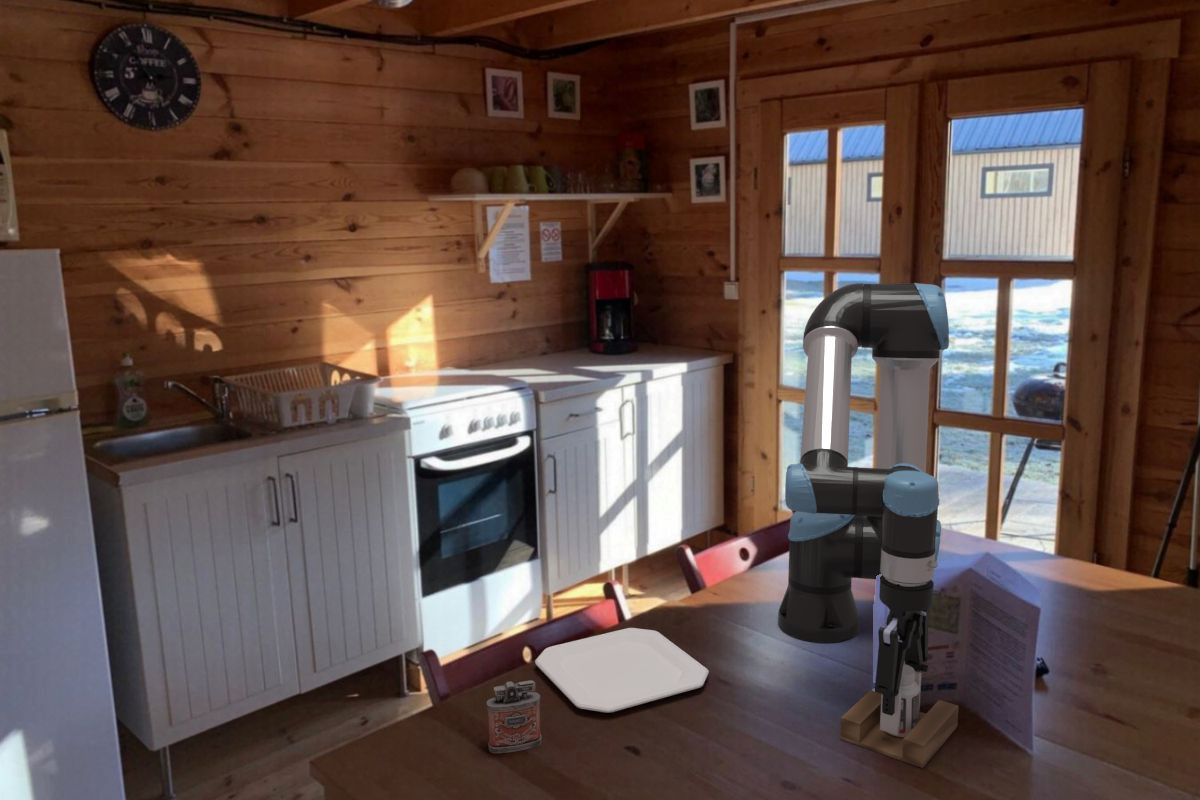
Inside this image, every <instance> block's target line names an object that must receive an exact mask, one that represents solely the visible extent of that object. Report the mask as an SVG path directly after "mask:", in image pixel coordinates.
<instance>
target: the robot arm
mask: <svg viewBox="0 0 1200 800" xmlns="http://www.w3.org/2000/svg"><path fill="white" fill-rule="evenodd" d="M945 297H946V296H945V292H944V291H943V289H942V288H941V287H940V286H938V285H936V284H930V283H918V282H914V283H863V282H862V283H861V282H860V283H851V284H847V285H844V286H842V287H839V288H838V289H836V290H834V291H832V292H831V293H830V294H828V295H827V296H825V298H823V299H822V300H821V301H820V302H819V303H818V305H816V307H815V308H814V310H813V311H812V313H811V314H810V316H809V318H808V320H807V322H806V325H805V328H804V331H803V338H802V349H803V352H804V354H805V355H806V357H807V363H806V364H807V366H806V375H805V377H806V378H805V391H804V405H803V419H802V434H801V444H800V445H801V446H800V460H799V463H793V464H792V463H791V464H789V465H788V466H787V468H786V472H785V492H784V497H785V498H784V499H785V506H786V507H787V509H789V510H790V511H793V514H792V515H791V516H790V520H789V521H790V523H789V532H788V535H787V539H788V540H789V543H788V544H789V547H788V549H789V550H788V551H789V553H788V577H787V578H788V580H787V587H786V590H785V593H784V594H783V598H782V601H781V604H780V606H779V609H778V614H777V624H778V627H779V628H780V629H781V631H783V632H784V633H786V634H787V635H789V636H791V637H794V638H796V639H799V640H803V641H807V642H814V643H836V642H837V643H838V642H839V643H840V642H843V641H847V640H851V639H852V638H854V637H855V636H856V635H857V634H859V632H860V624H861V623H860V622H861V621H860V613H859V610H858V607H857V603H856V601H855V598H854V597H855V596H854V594H853V591H852V583H853V582H852V580H853V579H867V580H876V576H877V575H879V574H882V576H881V577H880V580H879V593H878V594H879V600H880V602H881V603H882V604H883V605H885V606H886V607H887V608H888V609H889V612H888V615H887V618H886V628H885V627H882V626H880V627H879V629H878V651H877V662H876V673H875V683H874V686H875V692H878V693H881V716H880V730H883V731H886V732H889V733H892V734H894V735H897V736H898V734H899V733H900V713H901V693H900V692H899V687H900V681H901V676H902V670H903V665H904V664H906V665H909V666H911V667H912V668H913V669H914V670H915V680H914V681H915V682H916V683H917V684H918V686H919V711H920V710H921V709H920V708H921V707H920V706H921V689H922V672H924V673H928V670H929V665H926V664H925V663H927V662H928V661H929V617H930V616H929V615H930V608H931V607H932V605H933V603H934V587H935V586H934V585H935V584H934V581H933V579H934V577H935V570H934V568H935V569H937V568H938V565H939V563H938V561H937V560H938V557H939V550H940V546H941V545H940V544H941V535H942V534H941V532H942V523H941V521H940V520H938V509H939V506H940V498H939V497H940V495H939V481H938V479H937V478H936V477H934V476H933V475H930V474H929V473H927V472H926V471H927V452H928V451H927V448H928V429H929V427H928V426H929V425H928V424H929V402H930V401H929V400H930V379H931V378H930V377H931V369H932V367H933V366H934V365H936V363H937V362H938V361H940V352H941V351H945V350H947V349H949V346H950V337H949V335H950V328H949V326H950V325H949V316H948V308H947V302H946V298H945ZM859 348H861V349H863V348H864V349H871V350H872V351H871V353H872V354H871V359H872V360H873V361H874V362H875V363H876V364H877V366H878V367H879V369H880V370H879V371H880V372H879V393H878V394H879V396H878V421H877V422H878V423H877V449H876V452H877V453H876V467H860V466H859V467H858V466H849V443H850V442H849V441H850V419H851V418H850V417H851V415H850V414H851V413H850V411H851V389H852V387H851V386H852V384H851V383H852V359H853V358H854V357H855V356H856V355H857V352H858V349H859Z"/></svg>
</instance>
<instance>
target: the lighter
mask: <svg viewBox="0 0 1200 800" xmlns="http://www.w3.org/2000/svg"><path fill="white" fill-rule="evenodd" d="M493 693H494V697H491V698H490V699H488V700H487V701H486V709H487V718H488V737H489V741H488V742H487V744H488V751H489V752H490V753H492V754H503V753H505V754H506V753H513V752H519V751H524V750H529V749H531V748H535V747H538V746H540V745H541V744H542V742H543V741H542V739H543V738H542V734H541V719H540V717H541V716H540V714H541V713H540V703H541V695H540V694H539V693H538V692H536V682H535V681H534V679H533V680H525V681H519V682H517V683H514V682H513V681H507V682H505V684H504V685H499V686H495V687H493Z"/></svg>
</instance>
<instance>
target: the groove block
mask: <svg viewBox="0 0 1200 800" xmlns="http://www.w3.org/2000/svg"><path fill="white" fill-rule="evenodd" d="M959 709H960V707H959V705H957V704H954V703H951V702H948V701H944V700H941V699H939V700H937V702H935V704H934V705H933V706H932V707H930V709H929V710H928V711H927V713H925V712H923V711H922V712H921V711H919V722H918V723H917V725H916V726H915V727H914V728H913V729H912V730H911V731H910V732H909V733H908V734H907V735H906V737H897V736H893V735H890V734H888V733H887V732H886V731H883V730H880V716H881V693H878V692H874V691H872V688H870V689H869V690H868V691H867V693H865V694H864V695H863V696H862V697H861V698H860V699H859V700H858V701H857V702H856V703H855V704H853V706H851V708H849V710H847V712H845V713H844V714H843V715H842V716H841V717H840V733H839V735H840V736H839V738H840V740H842V741H845V742H847V743H850V744H854V745H856V746H859V747H862V748H865V749H868V750H871V751H873V752H876V753H878V754H881V755H885V756H887V757H890V758H892V759H895V760H898V761H901V762H903V763H906V764H910V765H913V766H914V767H918V768H920V769H924V767H925V766H926V765H927V764H928V763H929V761H931V759H932V758H933V757H934V755H935V754H936V753H937V752H938V751H939V749H940V748H941V747H942V746H943V745H944V744H945V743H946V741H947V740H948V739H949V737H951V736H952V734H953V733H954V731H955V730H956V729H957V728H958V724H959V721H958V720H959Z"/></svg>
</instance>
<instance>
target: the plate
mask: <svg viewBox="0 0 1200 800" xmlns="http://www.w3.org/2000/svg"><path fill="white" fill-rule="evenodd" d="M534 663H535V665H536V666H537V667H538V669H540V671H541V672H542V673H544V675H545V676H546V677H547V678H548V679H549V680H550V681H551V682H552V683H553V684H554V685H555V686H556V687H557V688H558V689H559V691H561V692H562V693H563V694H564V696H565V697H567V698H568V700H569V701H570V702H571V703H572V704H573V705H574V706H575V707H576V708H578V709H581V710H588V711H595V712H600V713H615V712H618V711H621V710H624V709H627V708H632V707H635V706H639V705H643V704H646V703H649V702H654V701H657V700H662V699H664V698H667V697H671V696H674V695H675V696H676V695H678V694H681V693H685V692H689V691H692V690H696V689H699V688H702V687H704V685H705V681H706V680H707V677H708V675H709V673H710V671H709V669H708V668H707V667H705V666H704V665H702V664H701V663H700V662H699V661H697V660H696V659H695V658H693V657H692V656H691V655H690V654H688V653H687V652H685V651H684V650H683V649H681V648H680V647H679V646H677V645H676V644H675V643H673V641H670V640H669V639H668V638H667V637H666V636H664V635H663V634H662V633H660V632H659V631H657V630H653V629H644V628H638V627H637V628H636V627H627V628H624V629H623V628H622V629H619V630H615V631H610V632H606V633H603V634H598V635H593V636H589V637H586V638H580V639H577V640H572V641H569V642H565V643H561V644H556V645H552V646H549V647H546V648H545V649H544V650H543V651H542V652H541V653H540V654H539V655H538V657H537V658H536V659H535V662H534Z"/></svg>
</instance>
